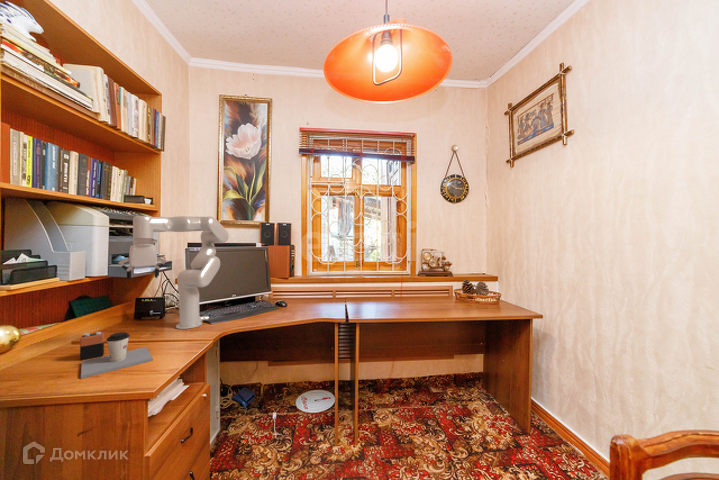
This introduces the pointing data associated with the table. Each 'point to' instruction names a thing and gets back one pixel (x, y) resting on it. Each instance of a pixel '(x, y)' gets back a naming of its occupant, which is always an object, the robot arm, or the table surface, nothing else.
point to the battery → (91, 345)
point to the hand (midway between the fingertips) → (143, 278)
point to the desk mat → (106, 365)
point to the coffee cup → (118, 346)
